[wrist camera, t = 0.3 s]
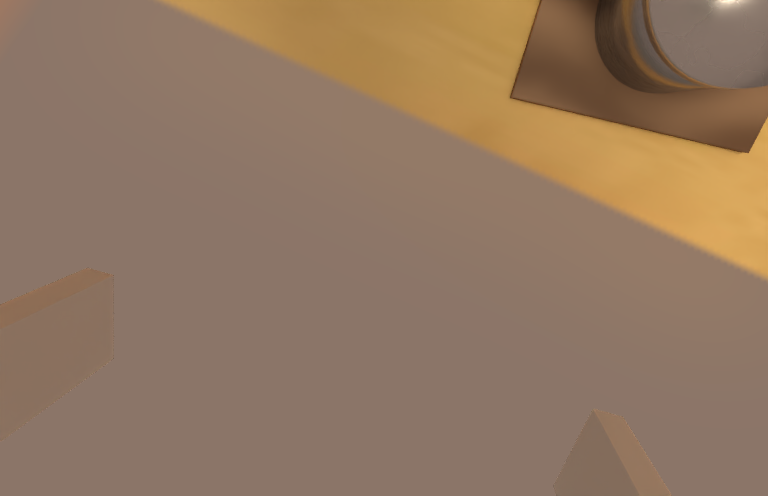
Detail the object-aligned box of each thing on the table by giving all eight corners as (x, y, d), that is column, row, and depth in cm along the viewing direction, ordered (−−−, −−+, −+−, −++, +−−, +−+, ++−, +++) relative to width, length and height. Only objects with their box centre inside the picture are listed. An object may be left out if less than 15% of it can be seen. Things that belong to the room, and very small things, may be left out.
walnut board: (579, -124, 28) (583, -131, 27) (854, -67, 27) (866, -73, 26) (510, 97, 33) (511, 96, 32) (741, 152, 32) (748, 152, 31)
